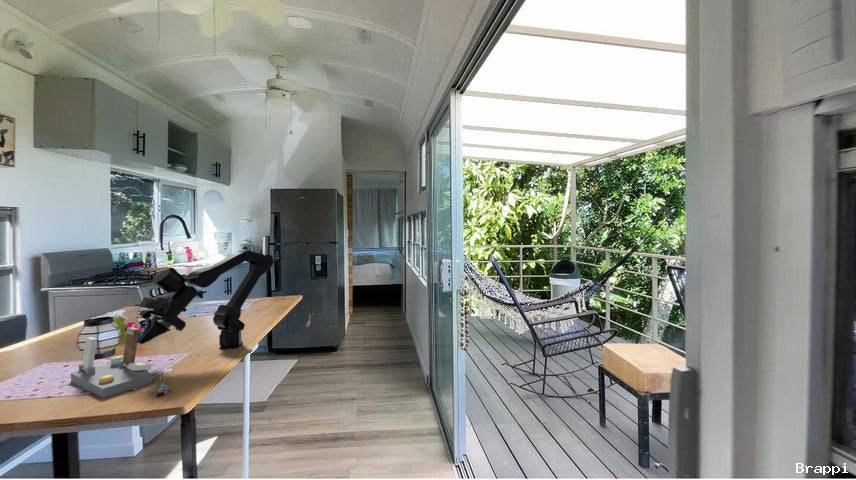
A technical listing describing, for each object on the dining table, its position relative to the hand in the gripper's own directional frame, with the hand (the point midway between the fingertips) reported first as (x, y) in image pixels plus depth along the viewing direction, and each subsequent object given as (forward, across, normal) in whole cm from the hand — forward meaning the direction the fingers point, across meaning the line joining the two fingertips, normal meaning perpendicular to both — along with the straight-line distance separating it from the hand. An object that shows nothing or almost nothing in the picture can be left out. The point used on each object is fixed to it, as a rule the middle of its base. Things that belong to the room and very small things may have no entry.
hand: (139, 343), depth 108 cm
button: (+7, -7, +3) cm, 10 cm away
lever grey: (+11, -8, -3) cm, 14 cm away
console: (+12, 0, +2) cm, 12 cm away
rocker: (+6, +7, +2) cm, 10 cm away
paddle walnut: (+6, 0, +2) cm, 7 cm away
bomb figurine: (+10, +21, +5) cm, 24 cm away
